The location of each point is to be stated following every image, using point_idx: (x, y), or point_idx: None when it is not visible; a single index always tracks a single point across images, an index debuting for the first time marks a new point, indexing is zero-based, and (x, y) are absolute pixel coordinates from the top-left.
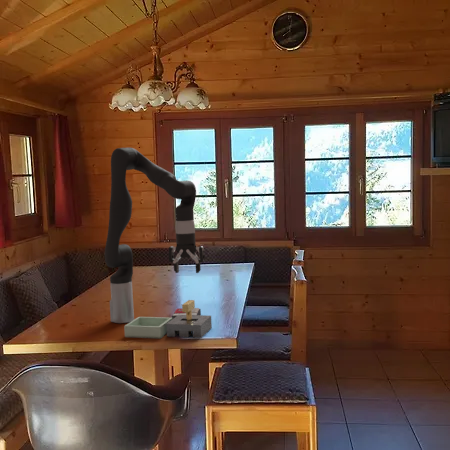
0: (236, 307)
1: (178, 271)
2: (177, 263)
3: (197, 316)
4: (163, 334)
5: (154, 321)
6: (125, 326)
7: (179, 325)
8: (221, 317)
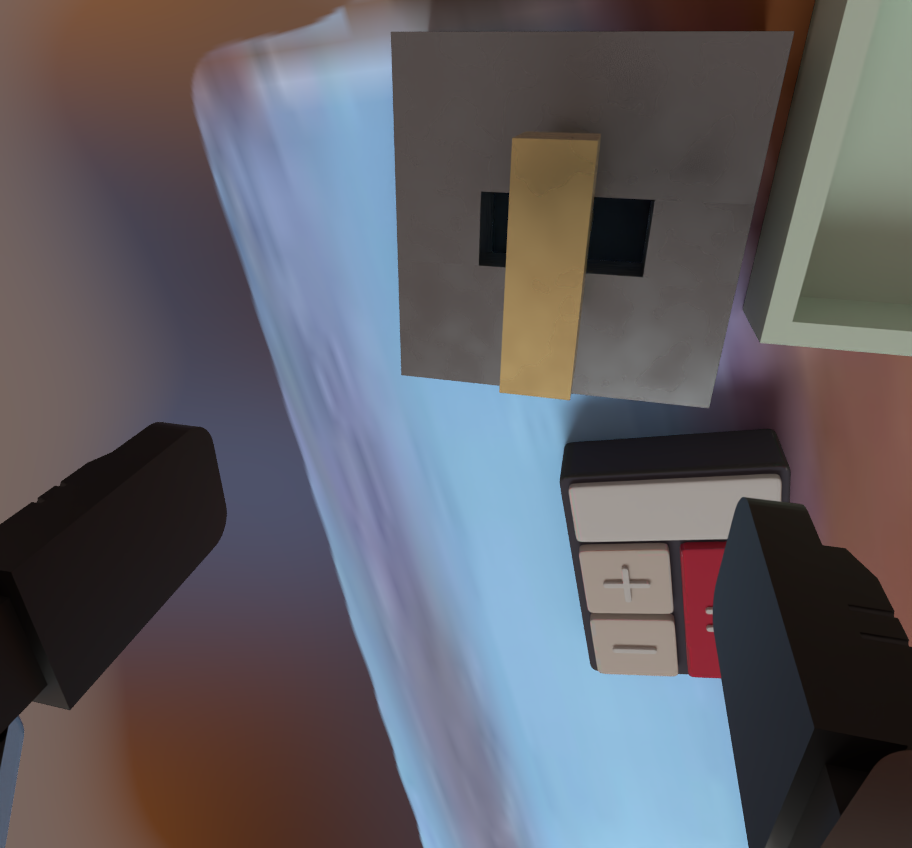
0: (412, 735)
1: (717, 598)
2: (779, 804)
3: None
4: (809, 44)
5: None
6: None
7: (626, 32)
8: (437, 567)
